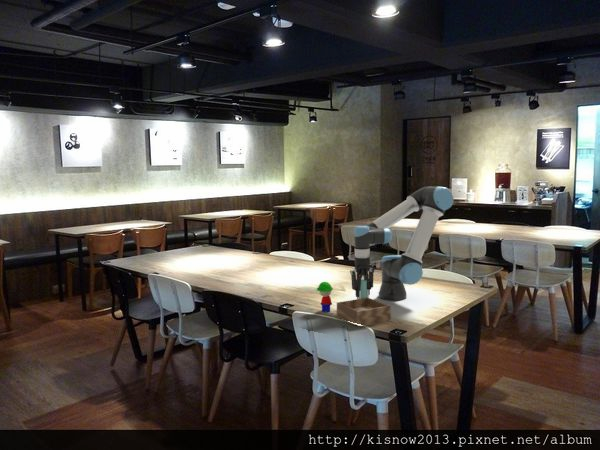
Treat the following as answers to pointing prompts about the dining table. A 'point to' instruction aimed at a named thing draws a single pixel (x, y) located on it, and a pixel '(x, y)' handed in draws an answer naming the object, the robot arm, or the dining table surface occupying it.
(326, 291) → the toy
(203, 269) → the dining table surface
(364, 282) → the peg
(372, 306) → the caddy
